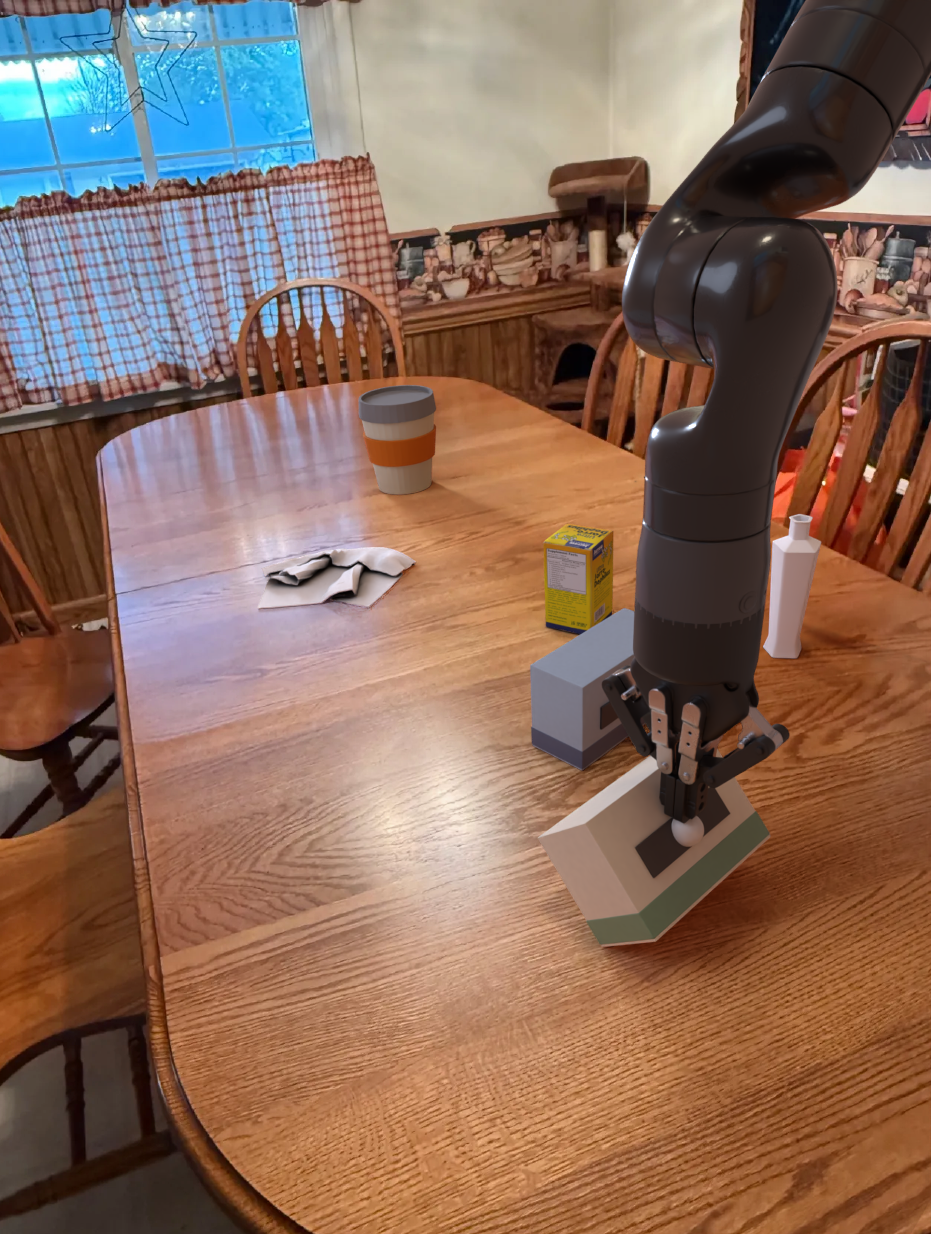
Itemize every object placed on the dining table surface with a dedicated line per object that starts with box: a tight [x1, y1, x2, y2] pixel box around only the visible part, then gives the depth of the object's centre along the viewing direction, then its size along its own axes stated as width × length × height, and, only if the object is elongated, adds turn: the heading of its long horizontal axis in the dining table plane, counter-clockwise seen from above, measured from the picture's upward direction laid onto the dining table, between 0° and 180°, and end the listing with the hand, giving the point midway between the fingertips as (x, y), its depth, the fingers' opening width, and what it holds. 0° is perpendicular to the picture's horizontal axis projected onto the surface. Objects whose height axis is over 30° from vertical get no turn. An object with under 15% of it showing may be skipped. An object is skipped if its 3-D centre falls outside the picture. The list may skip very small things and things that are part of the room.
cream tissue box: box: [537, 748, 772, 948], centre depth 65 cm, size 14×8×9 cm
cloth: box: [257, 546, 417, 610], centre depth 121 cm, size 20×22×2 cm
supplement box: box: [542, 522, 614, 635], centre depth 102 cm, size 6×6×11 cm
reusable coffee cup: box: [358, 384, 437, 495], centre depth 147 cm, size 13×13×15 cm
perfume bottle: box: [762, 513, 822, 659], centre depth 92 cm, size 5×4×15 cm
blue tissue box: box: [529, 607, 646, 771], centre depth 84 cm, size 14×8×9 cm, turn 133°
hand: (681, 813), depth 62 cm, fingers closed
